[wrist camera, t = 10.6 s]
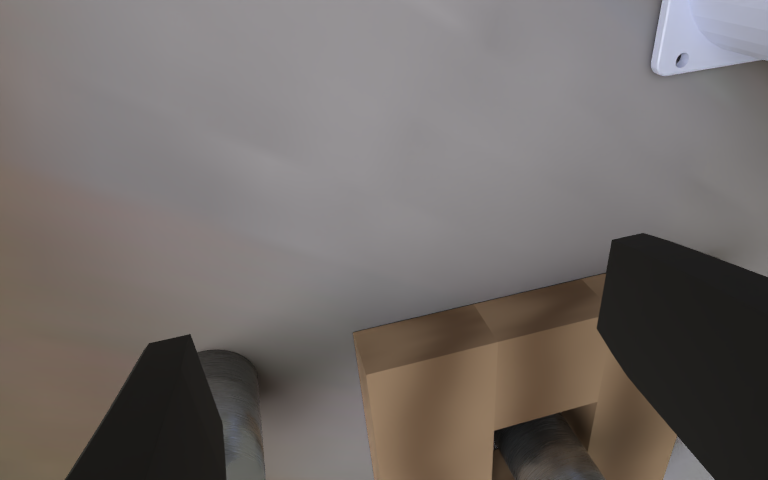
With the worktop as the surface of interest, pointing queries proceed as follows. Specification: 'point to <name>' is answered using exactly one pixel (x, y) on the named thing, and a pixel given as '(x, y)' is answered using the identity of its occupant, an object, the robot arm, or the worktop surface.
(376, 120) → the worktop surface
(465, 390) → the hole plate
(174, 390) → the robot arm
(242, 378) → the short pin
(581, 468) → the long pin
